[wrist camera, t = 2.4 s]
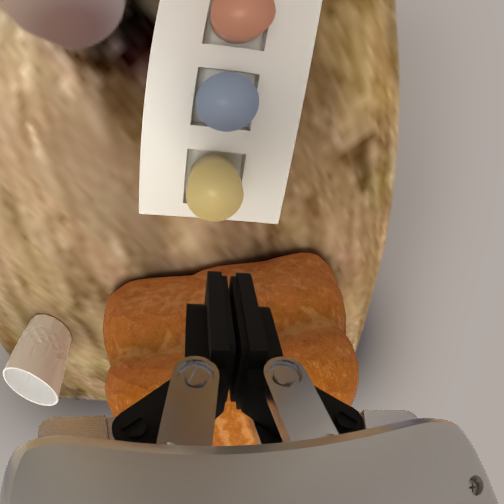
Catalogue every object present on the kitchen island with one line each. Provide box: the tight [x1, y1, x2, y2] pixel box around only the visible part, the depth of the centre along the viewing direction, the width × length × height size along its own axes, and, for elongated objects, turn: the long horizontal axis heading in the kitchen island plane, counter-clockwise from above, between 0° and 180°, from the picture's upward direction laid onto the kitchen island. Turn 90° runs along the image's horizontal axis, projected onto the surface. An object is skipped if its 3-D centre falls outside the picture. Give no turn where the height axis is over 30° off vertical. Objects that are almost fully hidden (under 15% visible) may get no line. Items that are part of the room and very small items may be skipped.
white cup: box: [3, 314, 72, 406], centre depth 30 cm, size 8×8×10 cm
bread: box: [103, 253, 359, 446], centre depth 29 cm, size 16×26×17 cm, turn 97°
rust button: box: [211, 0, 276, 44], centre depth 16 cm, size 4×4×4 cm
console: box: [139, 0, 322, 224], centre depth 22 cm, size 20×12×4 cm, turn 171°
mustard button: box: [186, 154, 244, 222], centre depth 23 cm, size 4×4×4 cm
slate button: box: [196, 72, 259, 132], centre depth 19 cm, size 4×4×4 cm
